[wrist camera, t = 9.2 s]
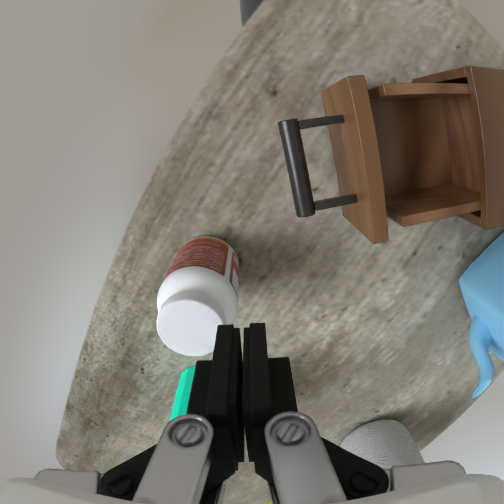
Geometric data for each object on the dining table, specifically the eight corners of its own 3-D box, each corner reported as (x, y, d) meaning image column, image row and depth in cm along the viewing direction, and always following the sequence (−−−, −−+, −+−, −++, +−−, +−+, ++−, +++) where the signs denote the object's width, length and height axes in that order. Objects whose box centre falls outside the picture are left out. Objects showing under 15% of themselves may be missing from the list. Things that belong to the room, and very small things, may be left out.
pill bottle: (164, 262, 31) (127, 324, 20) (207, 221, 29) (185, 269, 19) (208, 304, 32) (193, 378, 22) (253, 266, 31) (255, 333, 20)
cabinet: (429, 202, 28) (485, 230, 19) (411, 79, 24) (470, 65, 15) (512, 187, 28) (567, 207, 19) (501, 83, 23) (559, 81, 14)
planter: (394, 399, 38) (420, 456, 28) (413, 431, 42) (434, 479, 32) (319, 437, 41) (331, 496, 30) (349, 463, 44) (362, 513, 34)
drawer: (293, 226, 28) (308, 258, 21) (267, 100, 24) (274, 85, 17) (452, 195, 27) (500, 214, 20) (438, 84, 23) (487, 76, 16)
